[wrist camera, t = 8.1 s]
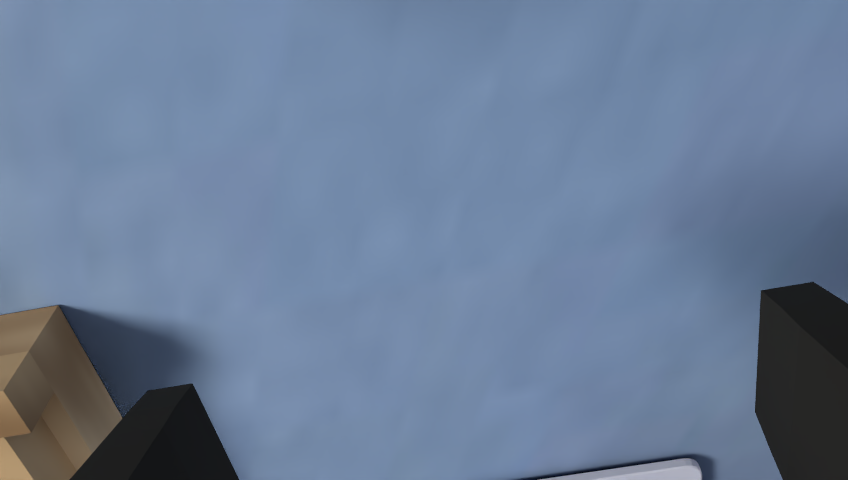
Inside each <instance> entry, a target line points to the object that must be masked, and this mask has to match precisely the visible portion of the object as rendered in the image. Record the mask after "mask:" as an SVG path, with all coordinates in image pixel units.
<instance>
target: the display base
mask: <svg viewBox="0 0 848 480" xmlns="http://www.w3.org/2000/svg"><path fill="white" fill-rule="evenodd" d="M121 420H122V416H121V415H120V413H119V411H118V409H117V407H116V406H115V404H114V402H113V400H112V399H111V397H110V395H109V393H108V392H107V390H106V388H105V386H104V385H103V383H102V381H101V379H100V378H99V376H98V374H97V372H96V371H95V369H94V367H93V365H92V364H91V362H90V360H89V358H88V357H87V355H86V353H85V351H84V349H83V348H82V346H81V344H80V342H79V341H78V339H77V337H76V335H75V334H74V332H73V330H72V328H71V327H70V325H69V323H68V321H67V320H66V318H65V316H64V314H63V313H62V311H61V309H60V307H59V306H58V305H56V306H51V307H45V308H39V309H34V310H28V311H22V312H17V313H11V314H5V315H0V480H70V478H71V477H72V476H73V475H74V474H75V473H76V472H77V470H78V469H79V468H80V467H81V466H82V465H83V463H84V462H85V461H86V460H87V459H88V458H89V457H90V455H91V454H92V453H93V452H94V451H95V450H96V448H97V447H98V446H99V445H100V444H101V443H102V441H103V440H104V439H105V438H106V437H107V436H108V434H109V433H110V432H111V431H112V430H113V429H114V428H115V426H116V425H117V424H118V423H119V422H120V421H121Z"/></svg>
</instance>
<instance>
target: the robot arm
mask: <svg viewBox="0 0 848 480" xmlns="http://www.w3.org/2000/svg"><path fill="white" fill-rule="evenodd" d="M755 413H756V415H757V418H758V420H759V423H760V425H761V428H762V430H763V433H764V435H765V438H766V440H767V443H768V445H769V448H770V450H771V453H772V455H773V457H774V460H775V462H776V464H777V467H778V469H779V471H780V474H781V476H782V478H783V480H848V304H847V303H846V302H844V301H843V300H841V299H840V298H838V297H836V296H835V295H833V294H832V293H830V292H829V291H827V290H825V289H824V288H822V287H820V286H819V285H817V284H816V283H814V282H810V283H804V284H798V285H792V286H786V287H779V288H773V289H767V290H761V303H760V323H759V343H758V362H757V382H756V401H755ZM70 480H239V479H238V476H237V474H236V472H235V470H234V468H233V466H232V464H231V462H230V460H229V458H228V456H227V454H226V452H225V450H224V448H223V446H222V443H221V441H220V439H219V437H218V435H217V433H216V431H215V429H214V427H213V425H212V423H211V421H210V419H209V417H208V415H207V412H206V410H205V408H204V406H203V404H202V402H201V400H200V398H199V396H198V394H197V392H196V390H195V388H194V386H193V384H186V385H180V386H174V387H168V388H162V389H156V390H150V391H147V392H146V393H145V394H144V395H143V397H142V398H141V399H140V400H139V401H138V402H137V403H136V404H135V405H134V406H133V407H132V408H131V409H130V411H129V412H128V413H127V414H126V415H125V416H124V417H123V418H122V420H121V421H120V422H119V423H118V424H117V425H116V426H115V428H114V429H113V430H112V431H111V432H110V433H109V434H108V436H107V437H106V438H105V439H104V440H103V441H102V443H101V444H100V445H99V446H98V447H97V448H96V450H95V451H94V452H93V453H92V454H91V455H90V457H89V458H88V459H87V460H86V461H85V462H84V463H83V465H82V466H81V467H80V468H79V469H78V470H77V472H76V473H75V474H74V475H73V476H72V477H71V478H70ZM539 480H702V472H701V469H700V466H699V464H698V462H696V461H695V460H693V459H690V458H683V459H676V460H669V461H662V462H655V463H649V464H642V465H635V466H628V467H621V468H614V469H607V470H600V471H594V472H587V473H580V474H573V475H566V476H559V477H552V478H546V479H539Z"/></svg>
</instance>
